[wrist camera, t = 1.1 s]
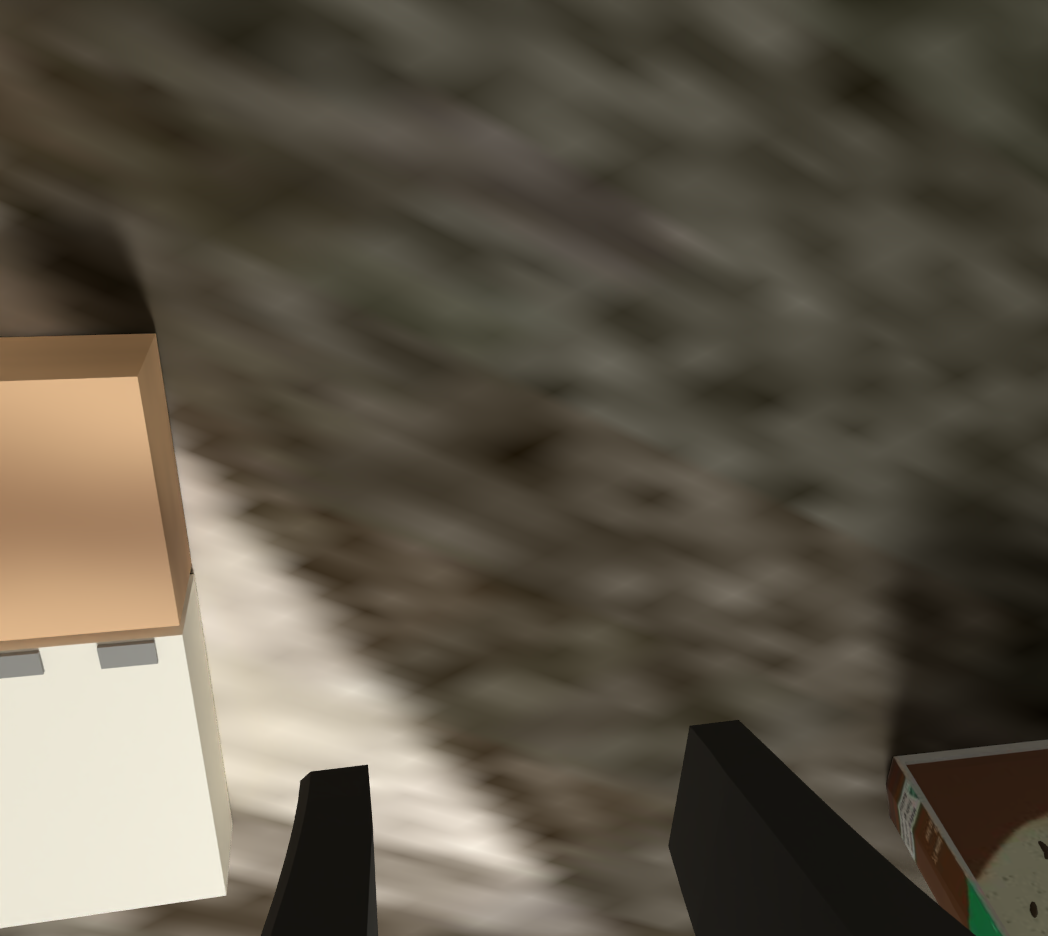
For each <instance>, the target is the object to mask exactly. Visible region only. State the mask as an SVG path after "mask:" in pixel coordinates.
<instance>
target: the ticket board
mask: <svg viewBox="0 0 1048 936" xmlns="http://www.w3.org/2000/svg"><path fill="white" fill-rule="evenodd" d="M232 827H233V823H232V817H231V810H230V804H229V797H228V791H227V784H226V778H225V771H224V765H223V758H222V752H221V745H220V739H219V732H218V726H217V720H216V713H215V707H214V700H213V694H212V687H211V681H210V674H209V668H208V661H207V655H206V648H205V642H204V635H203V629H202V622H201V616H200V609H199V603H198V597H197V590H196V584H195V577H194V574H190V576H189V581H188V586H187V591H186V596H185V601H184V606H183V611H182V616H181V621H180V626H169V627H157V628H146V629H134V630H123V631H111V632H100V633H88V634H77V635H65V636H54V637H43V638H31V639H20V640H8V641H0V928H5V927H12V926H19V925H26V924H33V923H40V922H46V921H53V920H60V919H67V918H74V917H81V916H88V915H95V914H102V913H109V912H116V911H122V910H129V909H136V908H143V907H150V906H157V905H164V904H171V903H178V902H185V901H191V900H198V899H205V898H212V897H219V896H226V893H227V882H228V871H229V860H230V849H231V838H232Z"/></svg>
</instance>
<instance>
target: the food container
mask: <svg viewBox="0 0 1048 936" xmlns="http://www.w3.org/2000/svg"><path fill="white" fill-rule="evenodd" d="M886 788H887V797H888V805H889V814H890V817H891V819H892V821H893V823H894V825H895V827H896V828H897V830H898V832H899V834H900V836H901V837H902V839H903V841H904V843H905V845H906V846H907V848H908V850H909V852H910V854H911V855H912V857H913V859H914V861H915V863H916V864H917V866H918V868H919V870H920V872H921V873H922V875H923V877H924V879H925V881H926V882H927V884H928V886H929V888H930V890H931V891H932V893H933V895H934V897H935V899H936V900H937V902H938V904H939V906H941V907H942V908H943V909H944V910H946V911H947V912H948V913H949V914H950V915H952V916H953V917H954V918H955V919H956V920H958V921H959V922H960V923H961V924H963V925H964V926H965V927H966V928H967V929H969V930H970V931H971V932H972V933H973V934H975V935H976V936H1048V739H1047V740H1038V741H1029V742H1020V743H1011V744H1002V745H993V746H984V747H975V748H966V749H957V750H948V751H939V752H930V753H921V754H912V755H903V756H894V757H893V760H892V764H891V768H890V771H889V775H888V779H887V783H886Z"/></svg>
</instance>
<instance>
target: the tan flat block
mask: <svg viewBox="0 0 1048 936" xmlns="http://www.w3.org/2000/svg"><path fill="white" fill-rule="evenodd" d="M191 566H192V564H191V558H190V551H189V545H188V538H187V532H186V525H185V519H184V512H183V506H182V500H181V493H180V487H179V480H178V474H177V467H176V461H175V454H174V448H173V441H172V435H171V429H170V422H169V416H168V409H167V403H166V396H165V390H164V383H163V377H162V371H161V364H160V358H159V351H158V345H157V338H156V333H155V334H116V335H77V336H39V337H0V641H8V640H20V639H31V638H43V637H54V636H65V635H77V634H88V633H100V632H111V631H123V630H134V629H146V628H157V627H169V626H180V621H181V616H182V611H183V606H184V601H185V596H186V591H187V586H188V581H189V576H190V571H191Z"/></svg>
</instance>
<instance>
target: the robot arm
mask: <svg viewBox="0 0 1048 936" xmlns="http://www.w3.org/2000/svg"><path fill="white" fill-rule="evenodd" d="M669 850H670V853H671V857H672V860H673V863H674V867H675V870H676V874H677V877H678V881H679V884H680V887H681V891H682V894H683V897H684V901H685V904H686V907H687V910H688V913H689V917H690V920H691V923H692V926H693V929H694V932H695V935H696V936H976V935H975V934H973V933H972V932H971V931H970V930H969V929H967V928H966V927H965V926H964V925H963V924H961V923H960V922H959V921H958V920H956V919H955V918H954V917H953V916H952V915H950V914H949V913H948V912H947V911H946V910H944V909H943V908H942V907H941V906H939V905H938V904H937V903H936V902H935V901H933V900H932V899H931V898H930V897H929V896H928V895H927V894H925V893H924V892H923V891H922V890H921V889H920V888H918V887H917V886H916V885H915V884H914V883H913V882H911V881H910V880H909V879H908V878H907V877H906V876H905V875H904V874H902V873H901V872H900V871H899V870H898V869H897V868H896V867H895V866H894V865H892V864H891V863H890V862H889V861H888V860H887V859H886V858H885V857H884V856H882V855H881V854H880V853H879V852H878V851H877V850H876V849H875V848H874V847H872V846H871V845H870V844H869V843H868V842H867V841H866V840H865V839H864V838H862V837H861V836H860V835H859V834H858V833H857V832H856V831H855V830H854V829H853V828H851V827H850V826H849V825H848V824H847V823H846V822H845V821H844V820H843V819H842V818H841V817H840V816H839V815H838V814H836V813H835V812H834V811H833V810H832V809H831V808H830V807H829V806H828V805H827V804H826V803H825V802H824V801H823V800H822V799H821V798H820V797H819V796H817V795H816V794H815V793H814V792H813V791H812V790H811V789H810V788H809V787H808V786H807V785H806V784H805V783H804V782H803V781H802V780H801V779H800V778H799V777H798V776H797V775H795V774H794V773H793V772H792V771H791V770H790V769H789V768H788V767H787V766H786V765H785V764H784V763H783V762H782V761H781V760H780V759H779V758H778V757H777V756H776V755H775V754H774V753H773V752H772V751H771V750H770V749H768V748H767V747H766V746H765V745H764V744H763V743H762V742H761V741H760V740H759V739H758V738H757V737H756V736H755V735H754V734H753V733H752V732H751V731H750V730H749V729H747V728H746V727H745V726H744V725H743V724H742V723H741V722H740V721H739V720H734V721H726V722H718V723H710V724H701V725H693V726H690V727H689V733H688V739H687V744H686V750H685V755H684V761H683V767H682V772H681V778H680V784H679V789H678V795H677V801H676V806H675V812H674V817H673V823H672V829H671V834H670V840H669ZM261 936H378V925H377V904H376V884H375V863H374V842H373V823H372V810H371V797H370V785H369V773H368V765H362V766H354V767H345V768H337V769H329V770H321V771H312V772H310V773H309V774H308V775H306V776H305V777H304V778H303V779H302V780H301V781H300V789H299V797H298V804H297V810H296V815H295V820H294V825H293V829H292V833H291V838H290V842H289V846H288V850H287V854H286V857H285V861H284V864H283V868H282V871H281V875H280V878H279V882H278V885H277V889H276V892H275V895H274V898H273V901H272V904H271V907H270V910H269V913H268V916H267V919H266V922H265V925H264V928H263V931H262V934H261Z"/></svg>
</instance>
